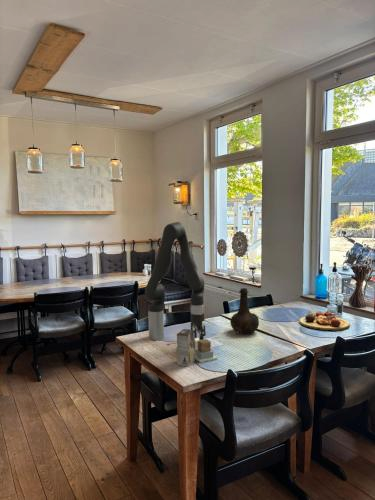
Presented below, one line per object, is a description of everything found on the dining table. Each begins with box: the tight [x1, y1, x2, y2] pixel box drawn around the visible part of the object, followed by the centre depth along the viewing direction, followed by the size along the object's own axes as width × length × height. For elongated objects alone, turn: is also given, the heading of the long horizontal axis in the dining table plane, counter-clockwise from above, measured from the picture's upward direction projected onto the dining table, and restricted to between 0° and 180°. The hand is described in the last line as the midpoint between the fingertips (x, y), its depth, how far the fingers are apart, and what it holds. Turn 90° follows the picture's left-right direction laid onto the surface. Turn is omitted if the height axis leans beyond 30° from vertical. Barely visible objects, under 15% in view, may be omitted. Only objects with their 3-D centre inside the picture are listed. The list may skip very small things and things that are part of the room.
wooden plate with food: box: [298, 310, 350, 331], centre depth 255 cm, size 32×32×8 cm
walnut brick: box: [198, 338, 212, 353], centre depth 197 cm, size 5×5×5 cm
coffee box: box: [176, 328, 196, 367], centre depth 192 cm, size 9×6×16 cm
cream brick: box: [195, 337, 199, 349], centre depth 213 cm, size 5×5×5 cm
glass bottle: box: [229, 287, 260, 335], centre depth 239 cm, size 18×18×28 cm
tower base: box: [195, 349, 218, 363], centre depth 198 cm, size 10×10×4 cm
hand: (198, 340), depth 212 cm, fingers open, 8 cm apart
